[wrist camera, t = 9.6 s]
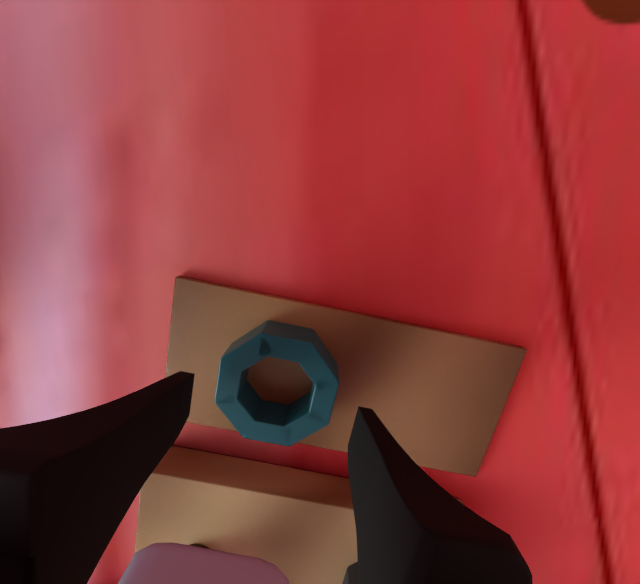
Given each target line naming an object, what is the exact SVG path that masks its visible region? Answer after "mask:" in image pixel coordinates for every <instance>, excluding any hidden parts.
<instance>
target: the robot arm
mask: <svg viewBox="0 0 640 584" xmlns="http://www.w3.org/2000/svg"><path fill="white" fill-rule="evenodd" d="M194 376H195V374H194V373H188V372H183V371H179V372H177V373H175V374H172V375H170V376H168V377H166V378H164V379H162V380H160V381H158V382H156V383H153V384H151V385H149V386H147V387H145V388H143V389H141V390H138V391H136V392H133V393H131V394H129V395H126V396H124V397H122V398H119V399H117V400H114V401H111V402H109V403H106V404H103V405H100V406H97V407H94V408H91V409H88V410H85V411H81V412H77V413H74V414H70V415H66V416H62V417H58V418H55V419H50V420H46V421H41V422H36V423H31V424H26V425H20V426H14V427H8V428H1V429H0V584H87V582H88V580H89V578H90V577H91V575H92V573H93V571H94V569H95V567H96V565H97V564H98V562H99V560H100V558H101V556H102V554H103V552H104V551H105V549H106V547H107V545H108V544H109V542H110V540H111V538H112V537H113V535H114V533H115V531H116V529H117V528H118V526H119V524H120V522H121V521H122V519H123V517H124V516H125V514H126V512H127V510H128V509H129V507H130V505H131V504H132V502H133V500H134V499H135V497H136V495H137V494H138V492H139V491H140V489H141V488H142V486H143V485H144V483H145V482H146V480H147V479H148V478H149V476H150V475H151V474H152V472H153V471H154V469H155V468H156V467H157V465H158V464H159V462H160V461H161V460H162V458H163V457H164V455H165V454H166V453H167V451H168V450H169V448H170V447H171V446H172V444H173V443H174V441H175V440H176V438H177V437H178V435H179V434H180V432H181V430H182V428H183V426H184V425H185V423H186V421H187V419H188V417H189V415H190V407H191V399H192V392H193V384H194ZM348 473H349V481H350V489H351V496H352V503H353V510H354V518H355V526H356V536H357V558H358V584H532V574H531V571H530V569H529V567H528V565H527V563H526V561H525V560H524V558H523V556H522V555H521V553H520V551H519V550H518V548H517V546H516V545H515V543H514V541H513V539H512V538H511V536H510V535H509V534H507V533H506V532H504V531H503V530H501V529H499V528H498V527H496V526H495V525H493V524H491V523H490V522H488V521H487V520H485V519H483V518H482V517H480V516H479V515H477V514H476V513H474V512H473V511H472V510H470V509H469V508H467V507H466V506H465V505H463V504H462V503H461V502H459V501H458V500H457V499H455V498H454V497H453V496H451V495H450V494H449V493H448V492H447V491H445V490H444V489H443V488H442V487H441V486H439V485H438V484H437V483H436V482H435V481H434V480H433V479H432V478H430V477H429V476H428V475H427V474H426V473H425V472H424V471H423V470H422V469H421V468H420V467H419V466H418V465H417V464H416V463H415V462H414V461H413V460H412V459H411V457H410V456H409V455H408V454H407V453H406V452H405V451H404V449H403V448H402V447H401V446H400V445H399V444H398V442H397V441H396V440H395V439H394V437H393V436H392V435H391V433H390V432H389V431H388V429H387V428H386V427H385V425H384V424H383V423H382V421H381V420H380V419H379V417H378V416H377V415H376V413H375V412H374V411H373V409H370V408H365V407H360V406H358V410H357V413H356V417H355V421H354V425H353V428H352V432H351V436H350V439H349V443H348ZM118 584H289V580H288V579H287V577H286V576H285V575H284V574H283V573H282V572H281V571H280V569H279V568H278V567H277V566H276V565H275V564H273V563H270V562H268V561H265V560H263V559H260V558H256V557H251V556H245V555H240V554H234V553H229V552H223V551H218V550H212V549H206V548H201V547H195V546H190V545H184V544H179V543H153V544H151V545H149V546H147V547H145V548H143V549H141V550H139V551H138V552H136V553H135V554H134V556H133V558H132V560H131V562H130V563H129V565H128V567H127V569H126V570H125V572H124V574H123V576H122V577H121V579H120V581H119V583H118Z"/></svg>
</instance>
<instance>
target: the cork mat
mask: <svg viewBox="0 0 640 584" xmlns="http://www.w3.org/2000/svg"><path fill="white" fill-rule="evenodd" d="M267 320H272V321H276V322H281V323H286V324H291V325H296V326H301V327H306V328H311V329H313V330H314V331H315V332H316V334H317V335H318V337H319V338H320V339H321V341H322V342H323V344H324V345H325V347H326V348H327V350H328V351H329V352H330V354H331V355H332V357H333V358H334V360H335V361H336V363H337V365H338V373H339V387H338V391H337V395H336V399H335V403H334V407H333V411H332V414H331V418H330V422H329V425H327V426H325V427H324V428H322V429H320V430H318V431H316V432H315V433H313V434H311V435H309V436H307V437H306V438H304V439H302V440H300V441H298V442H297V443H300V444H306V445H311V446H316V447H321V448H327V449H332V450H337V451H342V452H348V443H349V439H350V436H351V432H352V428H353V425H354V421H355V417H356V413H357V410H358V406H360V407H365V408H370V409H373V411H374V412H375V413H376V415H377V416H378V417H379V419H380V420H381V421H382V423H383V424H384V425H385V427H386V428H387V429H388V431H389V432H390V433H391V435H392V436H393V437H394V439H395V440H396V441H397V442H398V444H399V445H400V446H401V447H402V448H403V449H404V451H405V452H406V453H407V454H408V455H409V456H410V457H411V459H412V460H413V461H414V462H415V463H416V464H417V465H418V466H421V467H427V468H432V469H437V470H443V471H448V472H453V473H458V474H464V475H469V476H474V477H476V476H477V473H478V471H479V468H480V466H481V463H482V461H483V458H484V456H485V453H486V451H487V448H488V446H489V443H490V441H491V438H492V436H493V433H494V431H495V428H496V426H497V423H498V421H499V418H500V416H501V414H502V411H503V409H504V406H505V404H506V401H507V399H508V396H509V394H510V391H511V389H512V386H513V384H514V381H515V379H516V376H517V374H518V371H519V369H520V366H521V364H522V361H523V359H524V356H525V354H526V351H527V350H526V349H525V348H523V347H521V346H516V345H511V344H506V343H501V342H497V341H492V340H487V339H482V338H477V337H472V336H468V335H463V334H458V333H453V332H448V331H443V330H439V329H434V328H429V327H424V326H419V325H415V324H410V323H405V322H400V321H395V320H390V319H386V318H381V317H376V316H371V315H366V314H361V313H357V312H352V311H347V310H342V309H337V308H333V307H328V306H323V305H318V304H313V303H308V302H304V301H299V300H294V299H289V298H284V297H279V296H275V295H270V294H265V293H260V292H255V291H251V290H246V289H241V288H236V287H231V286H226V285H222V284H217V283H212V282H207V281H202V280H197V279H193V278H188V277H183V276H177V277H176V278H175V287H174V297H173V307H172V316H171V326H170V336H169V346H168V356H167V366H166V375H165V378H166V377H168V376H170V375H172V374H175V373H177V372H179V371H183V372H188V373H194V374H195V376H194V384H193V392H192V399H191V407H190V415H189V417H188V419H187V421H186V422H190V423H195V424H200V425H205V426H211V427H216V428H221V429H227V430H232V431H237V430H236V428H235V427H234V426H233V425H232V423H231V422H230V421H229V420H228V419H227V417H226V416H225V415H224V414H223V412H222V411H221V410H220V409H219V408H218V406H217V405H216V404H215V401H214V398H215V392H216V385H217V378H218V371H219V364H220V359H221V357H222V356H223V354H224V353H225V352H226V350H227V349H228V348H229V346H230V345H231V343H232V342H234V341H236V340H237V339H239V338H240V337H242V336H243V335H245V334H247V333H248V332H250V331H251V330H253V329H254V328H256V327H258V326H259V325H261V324H262V323H264V322H266V321H267ZM247 381H248V382H249V383H250V385H251V386H252V387H253V389H254V390H255V391H256V393H257V394H258V395H259V396H260V398H261V399H262V400H267V401H272V402H277V403H282V404H287V405H289V404H290V403H292V402H294V401H296V400H297V399H299V398H301V397H303V396H304V395H306V394H308V393H309V392H310V391H311V387H312V381H311V379H310V378H309V377H308V375H307V374H306V373H305V371H304V370H303V368H302V367H301V366H300V364H299V363H298V362H293V361H288V360H283V359H278V358H273V357H268V356H267V357H265V358H264V359H262V360H260V361H259V362H257V363H255V364H254V365H252V366H251V367H249V369H248V375H247ZM237 432H238V431H237Z"/></svg>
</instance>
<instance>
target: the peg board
mask: <svg viewBox="0 0 640 584" xmlns="http://www.w3.org/2000/svg"><path fill="white" fill-rule="evenodd" d="M455 499H456V498H455ZM457 500H458V501H459V502H461V503H462V504H463V505H464V503H463V501H462V500H461V499H457ZM153 543H179V544H184V545H190V546H195V547H201V548H206V549H212V550H218V551H223V552H229V553H234V554H240V555H245V556H251V557H256V558H260V559H263V560H265V561H268V562H270V563H273V564H275V565H276V566H277V567H278V568H279V569H280V571H281V572H282V573H283V574H284V575H285V576H286V577H287V579H288V580H289V584H342V583H343V580H344V576H345V573H346V570H347V567H348V566H349V565H352V564H354V563H356V562H358V558H357V536H356V526H355V518H354V510H353V503H352V496H351V489H350V481H349V478H344V477H338V476H333V475H328V474H322V473H317V472H312V471H306V470H301V469H295V468H290V467H285V466H279V465H274V464H269V463H263V462H258V461H253V460H247V459H242V458H237V457H231V456H226V455H220V454H215V453H210V452H204V451H199V450H194V449H188V448H183V447H178V446H171V447H170V448H169V450H168V451H167V453H166V454H165V455H164V457H163V458H162V460H161V461H160V462H159V464H158V465H157V467H156V468H155V469H154V471H153V472H152V474H151V475H150V476H149V478H148V479H147V480H146V482H145V483H144V485H143V486H142V488H141V489H140V498H139V509H138V521H137V532H136V543H135V553H136V552H138V551H139V550H141V549H143V548H145V547H147V546H149V545H151V544H153Z"/></svg>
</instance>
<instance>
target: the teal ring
mask: <svg viewBox="0 0 640 584" xmlns="http://www.w3.org/2000/svg"><path fill="white" fill-rule="evenodd" d="M267 356H268V357H273V358H278V359H283V360H288V361H293V362H298V363H299V364H300V366H301V367H302V368H303V370H304V371H305V373H306V374H307V375H308V377H309V378H310V379H311V381H312V387H311V391H310V392H309V393H308V394H306V395H304V396H303V397H301V398H299V399H297V400H296V401H294V402H292V403H290V404H289V405H287V404H282V403H277V402H272V401H267V400H262V399H261V398H260V396H259V395H258V394H257V393H256V391H255V390H254V389H253V387H252V386H251V385H250V383H249V382H248V381H247V375H248V369H249V367H251V366H252V365H254V364H255V363H257V362H259V361H260V360H262V359H264V358H265V357H267ZM338 387H339V373H338V365H337V363H336V361H335V360H334V358H333V357H332V355H331V354H330V352H329V351H328V350H327V348H326V347H325V345H324V344H323V342H322V341H321V339H320V338H319V337H318V335H317V334H316V332H315V331H314V330H313V329H311V328H306V327H301V326H296V325H291V324H286V323H281V322H276V321H272V320H267V321H266V322H264V323H262V324H261V325H259V326H258V327H256V328H254V329H253V330H251V331H250V332H248V333H247V334H245V335H243V336H242V337H240V338H239V339H237V340H236V341H234V342H232V343H231V345H230V346H229V348H228V349H227V350H226V352H225V353H224V354H223V356H222V357H221V359H220V364H219V371H218V378H217V385H216V392H215V398H214V401H215V404H216V405H217V406H218V408H219V409H220V410H221V411H222V412H223V414H224V415H225V416H226V417H227V419H228V420H229V421H230V422H231V423H232V425H233V426H234V427H235V428H236V430H237V431H238V432H239V433H240V434H241V436H242V437H243V438H247V439H252V440H257V441H262V442H268V443H273V444H278V445H284V446H291V445H293V444H295V443H297V442H298V441H300V440H302V439H304V438H306V437H307V436H309V435H311V434H313V433H315V432H316V431H318V430H320V429H322V428H324V427H325V426H327V425H329V422H330V418H331V414H332V411H333V407H334V403H335V399H336V395H337V391H338Z"/></svg>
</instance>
